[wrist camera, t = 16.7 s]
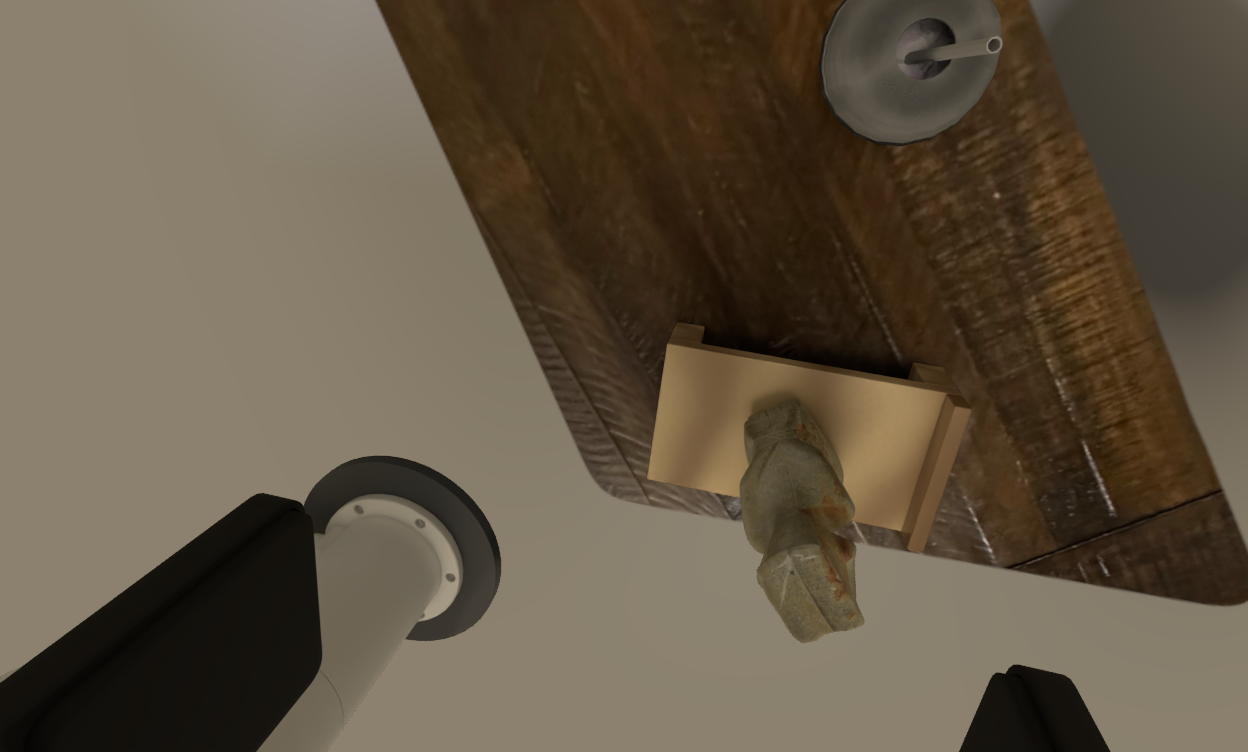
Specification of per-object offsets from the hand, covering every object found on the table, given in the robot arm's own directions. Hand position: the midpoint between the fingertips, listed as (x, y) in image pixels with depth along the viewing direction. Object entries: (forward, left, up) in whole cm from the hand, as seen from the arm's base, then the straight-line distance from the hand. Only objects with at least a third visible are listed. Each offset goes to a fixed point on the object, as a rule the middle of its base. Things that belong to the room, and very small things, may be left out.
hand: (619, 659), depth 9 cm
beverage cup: (+6, +10, -38) cm, 40 cm away
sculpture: (+6, -12, -34) cm, 36 cm away
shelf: (+6, -12, -38) cm, 41 cm away
